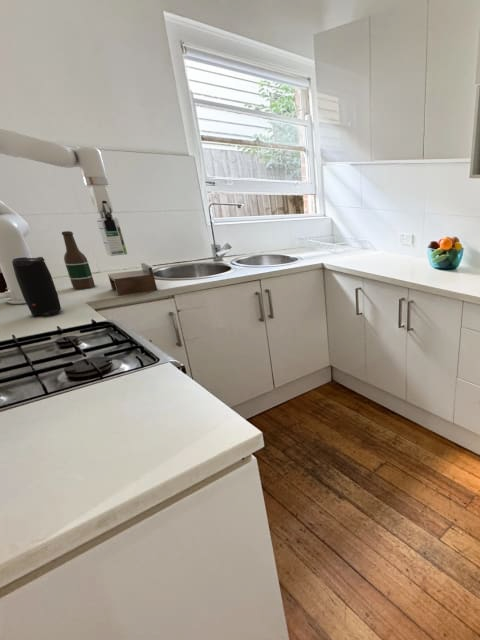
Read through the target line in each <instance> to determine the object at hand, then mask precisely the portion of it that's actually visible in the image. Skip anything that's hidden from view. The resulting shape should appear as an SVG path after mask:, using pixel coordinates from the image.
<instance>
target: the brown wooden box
mask: <svg viewBox="0 0 480 640" xmlns="http://www.w3.org/2000/svg"><path fill="white" fill-rule="evenodd" d="M140 266H141V269H140V270H131V271H121V272H113V273H112V272H111V273H108V274H107V277H108V280H109V284H110V286H111V290H112V291H116V292H117V296H125V295H133V294H138V293H139V294H140V293H146V292H153V291H158V288H157V283H156V279H155V275H154V271H153V267H152V266H150V265H148V264H147V263H145V262H142V263H140Z"/></svg>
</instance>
